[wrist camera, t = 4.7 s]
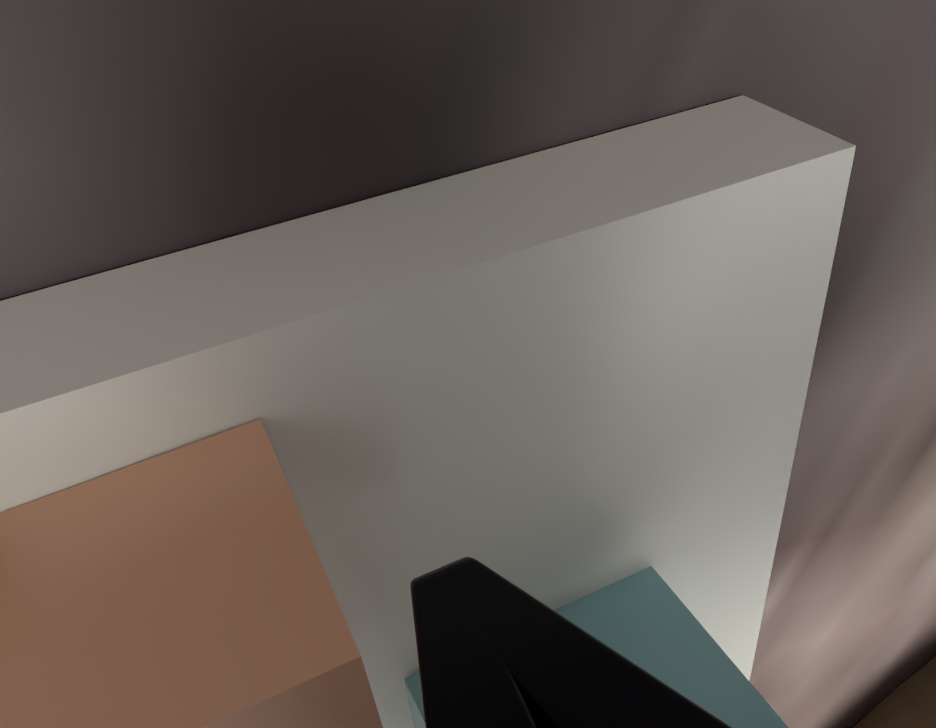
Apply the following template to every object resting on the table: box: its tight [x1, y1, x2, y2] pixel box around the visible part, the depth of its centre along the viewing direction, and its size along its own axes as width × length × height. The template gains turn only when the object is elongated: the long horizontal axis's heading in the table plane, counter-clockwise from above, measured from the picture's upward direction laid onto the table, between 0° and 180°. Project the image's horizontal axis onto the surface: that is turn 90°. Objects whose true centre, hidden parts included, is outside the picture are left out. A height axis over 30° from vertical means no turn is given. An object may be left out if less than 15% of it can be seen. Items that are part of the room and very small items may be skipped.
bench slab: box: [0, 95, 856, 728], centre depth 13 cm, size 10×11×2 cm
